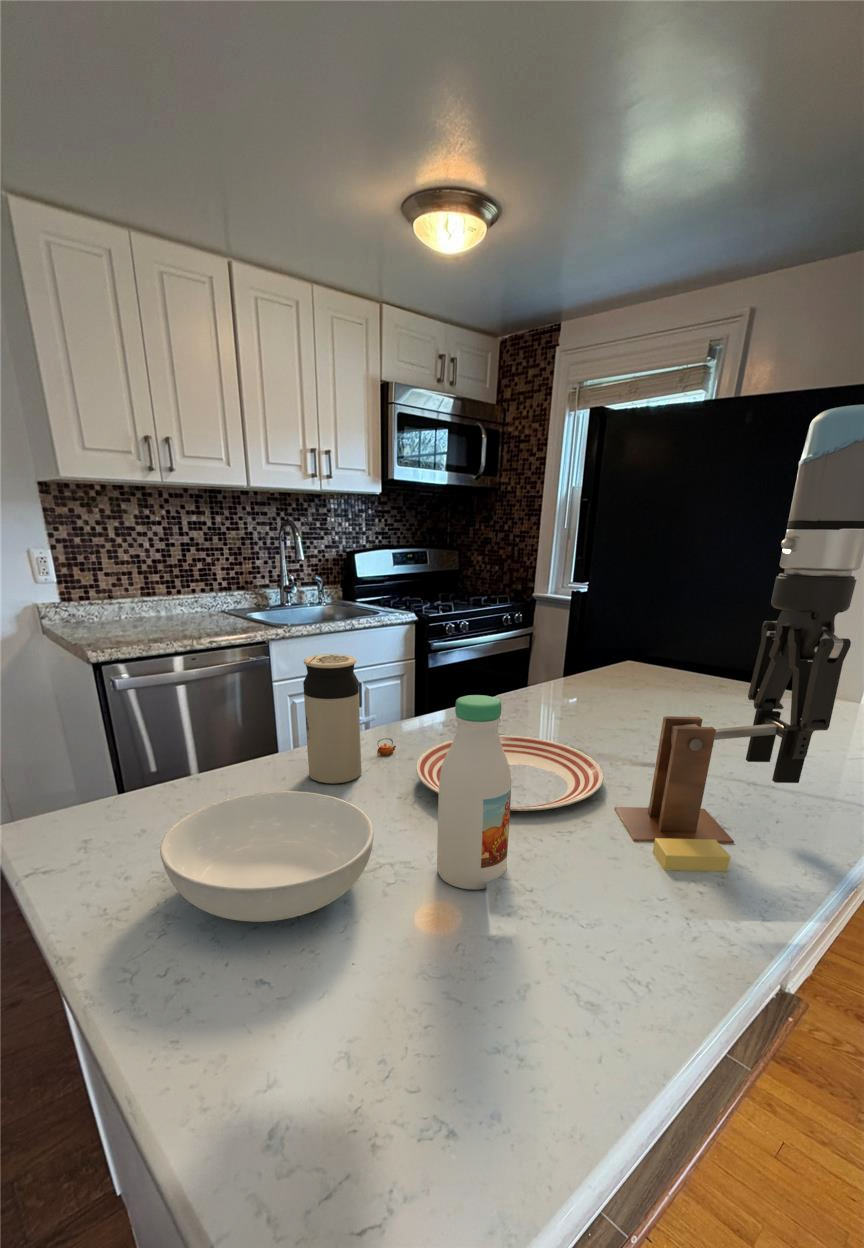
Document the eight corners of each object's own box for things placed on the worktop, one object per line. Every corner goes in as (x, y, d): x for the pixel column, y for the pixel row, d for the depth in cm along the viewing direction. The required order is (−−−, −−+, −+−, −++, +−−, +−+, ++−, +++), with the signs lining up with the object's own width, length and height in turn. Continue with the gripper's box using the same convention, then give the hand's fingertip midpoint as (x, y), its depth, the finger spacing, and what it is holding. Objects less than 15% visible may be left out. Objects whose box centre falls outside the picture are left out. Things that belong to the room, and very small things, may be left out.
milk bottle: (455, 898, 63) (460, 713, 56) (426, 862, 70) (428, 693, 63) (518, 882, 66) (532, 705, 59) (485, 850, 73) (493, 687, 65)
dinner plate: (592, 841, 75) (595, 817, 74) (387, 807, 83) (387, 785, 82) (607, 765, 99) (609, 746, 98) (447, 745, 108) (448, 727, 106)
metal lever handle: (774, 729, 75) (776, 711, 74) (800, 745, 70) (803, 725, 69) (665, 739, 76) (666, 721, 75) (683, 756, 71) (684, 736, 70)
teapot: (381, 749, 105) (380, 735, 104) (397, 752, 104) (397, 737, 103) (373, 755, 102) (373, 740, 101) (390, 757, 101) (390, 742, 100)
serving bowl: (284, 982, 51) (277, 914, 49) (124, 909, 61) (112, 848, 58) (411, 870, 68) (411, 815, 66) (271, 826, 78) (266, 776, 75)
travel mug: (367, 767, 97) (364, 655, 90) (352, 787, 90) (348, 666, 83) (319, 763, 98) (313, 652, 92) (301, 782, 91) (293, 663, 84)
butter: (711, 862, 71) (715, 839, 70) (725, 880, 67) (731, 856, 66) (650, 860, 71) (654, 837, 70) (662, 879, 67) (666, 855, 66)
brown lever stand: (702, 818, 82) (723, 712, 76) (731, 852, 73) (758, 735, 68) (613, 816, 82) (627, 710, 76) (632, 849, 73) (650, 733, 68)
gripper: (741, 566, 75) (708, 744, 83) (834, 579, 57) (779, 803, 65) (803, 567, 74) (763, 745, 83) (915, 579, 57) (850, 804, 65)
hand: (770, 770), depth 74 cm, fingers closed on metal lever handle, 6 cm apart
